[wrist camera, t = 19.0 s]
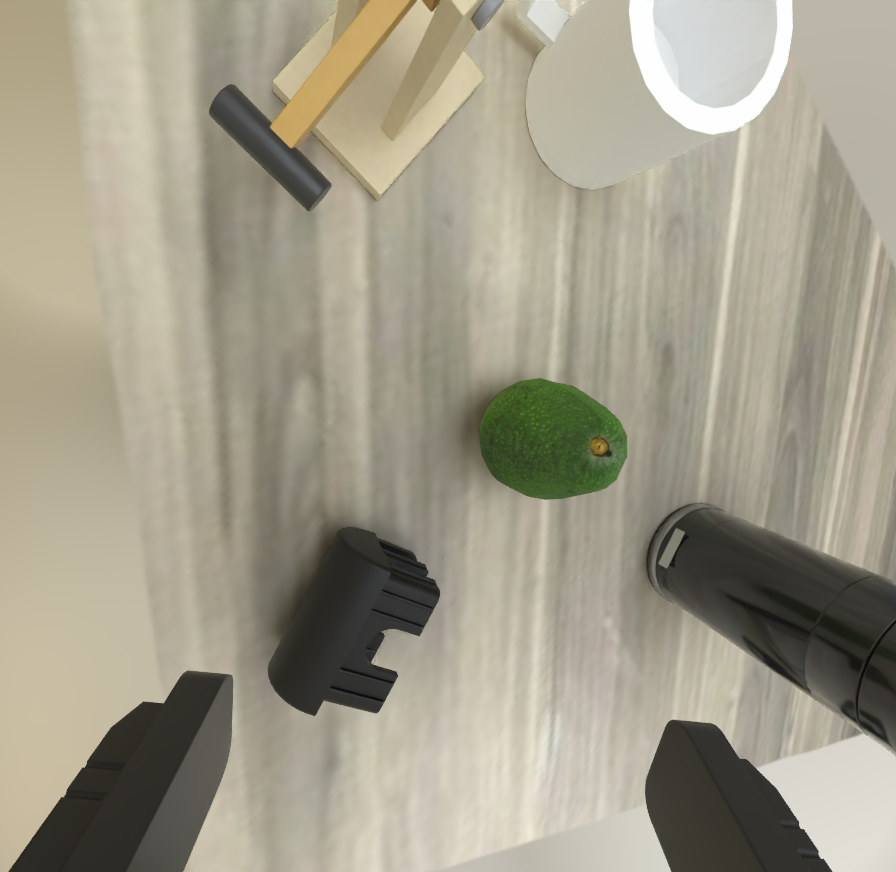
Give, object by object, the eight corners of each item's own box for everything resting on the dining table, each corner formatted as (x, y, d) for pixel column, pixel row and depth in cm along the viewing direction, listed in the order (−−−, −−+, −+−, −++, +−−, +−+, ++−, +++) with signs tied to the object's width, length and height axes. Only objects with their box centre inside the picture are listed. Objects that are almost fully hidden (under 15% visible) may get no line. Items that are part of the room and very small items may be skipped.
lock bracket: (377, 200, 31) (443, 107, 18) (272, 90, 28) (263, -111, 15) (478, 86, 32) (610, -82, 19) (385, -34, 29) (467, -327, 16)
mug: (457, 90, 31) (537, -22, 22) (536, -53, 31) (653, -233, 21) (606, 219, 36) (727, 177, 26) (675, 97, 36) (822, 7, 26)
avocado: (559, 374, 38) (676, 391, 27) (551, 474, 39) (658, 530, 28) (461, 372, 35) (544, 390, 24) (456, 478, 37) (532, 542, 25)
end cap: (333, 512, 34) (345, 553, 28) (420, 547, 37) (448, 592, 31) (267, 638, 35) (264, 706, 28) (358, 664, 37) (373, 732, 31)
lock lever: (312, 212, 23) (305, 211, 21) (218, 121, 21) (200, 109, 19) (501, -13, 21) (516, -42, 18) (414, -137, 19) (420, -185, 17)
